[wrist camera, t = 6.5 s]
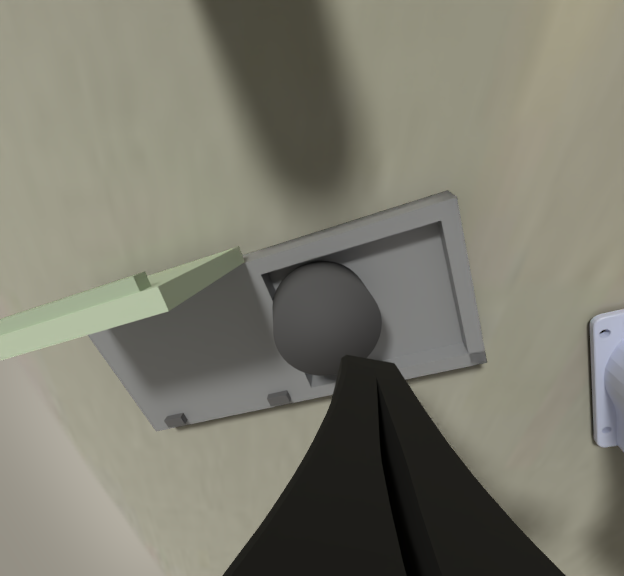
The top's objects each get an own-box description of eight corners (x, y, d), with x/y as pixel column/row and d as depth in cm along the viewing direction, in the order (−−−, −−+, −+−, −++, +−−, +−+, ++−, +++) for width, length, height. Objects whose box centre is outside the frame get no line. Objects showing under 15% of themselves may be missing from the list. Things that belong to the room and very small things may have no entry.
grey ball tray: (477, 345, 20) (489, 367, 18) (166, 413, 24) (153, 436, 23) (447, 190, 16) (459, 198, 15) (91, 303, 21) (69, 319, 19)
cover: (168, 311, 11) (150, 270, 10) (-47, 374, 13) (-68, 341, 12) (244, 262, 17) (235, 236, 17) (95, 308, 19) (84, 286, 19)
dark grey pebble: (381, 322, 19) (397, 346, 17) (300, 362, 20) (304, 392, 17) (343, 243, 17) (355, 258, 15) (254, 289, 18) (252, 311, 15)
